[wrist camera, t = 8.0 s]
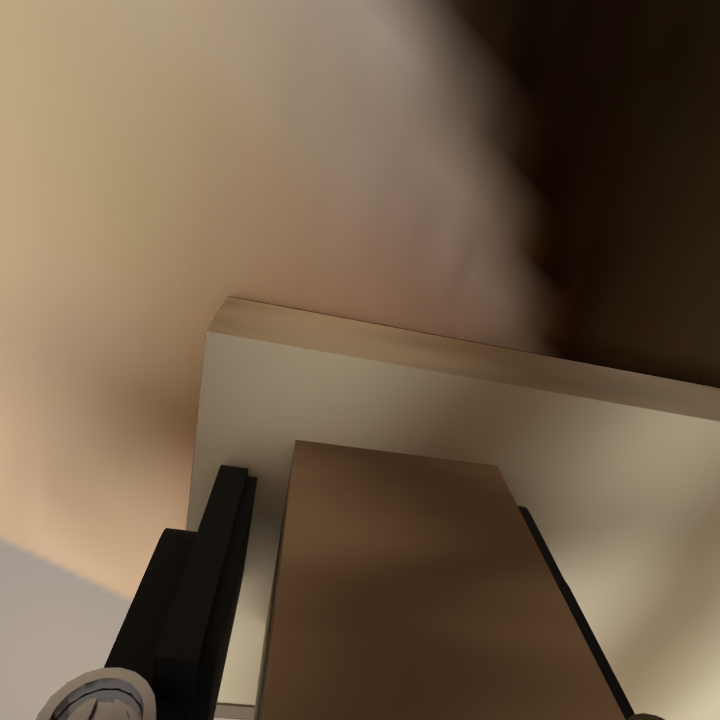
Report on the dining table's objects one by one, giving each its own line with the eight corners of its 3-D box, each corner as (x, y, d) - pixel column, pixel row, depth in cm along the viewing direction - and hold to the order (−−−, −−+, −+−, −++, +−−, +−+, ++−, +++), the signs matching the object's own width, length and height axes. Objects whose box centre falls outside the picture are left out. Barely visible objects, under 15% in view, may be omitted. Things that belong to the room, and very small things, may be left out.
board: (1129, 464, 14) (1258, 517, 12) (892, 705, 17) (960, 773, 16) (228, 296, 10) (205, 331, 8) (188, 638, 14) (167, 713, 12)
